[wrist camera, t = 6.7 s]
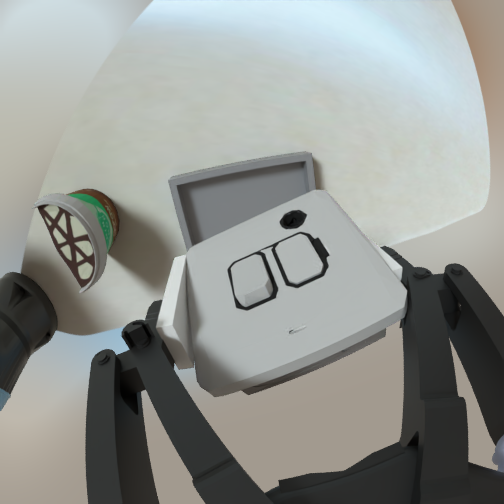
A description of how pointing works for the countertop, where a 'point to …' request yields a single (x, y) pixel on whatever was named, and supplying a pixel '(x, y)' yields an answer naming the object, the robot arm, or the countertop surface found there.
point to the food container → (81, 231)
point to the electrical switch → (286, 296)
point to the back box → (237, 192)
